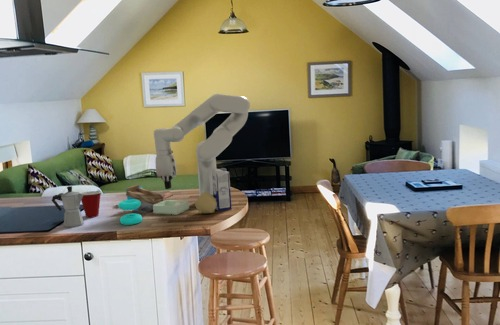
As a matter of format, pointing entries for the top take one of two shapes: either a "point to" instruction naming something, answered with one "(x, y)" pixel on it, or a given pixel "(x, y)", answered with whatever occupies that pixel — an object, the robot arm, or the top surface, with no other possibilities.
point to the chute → (146, 195)
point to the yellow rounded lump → (206, 203)
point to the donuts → (133, 217)
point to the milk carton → (221, 188)
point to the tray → (170, 207)
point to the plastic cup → (91, 203)
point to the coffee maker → (70, 207)
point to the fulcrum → (143, 208)
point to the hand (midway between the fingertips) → (168, 188)
